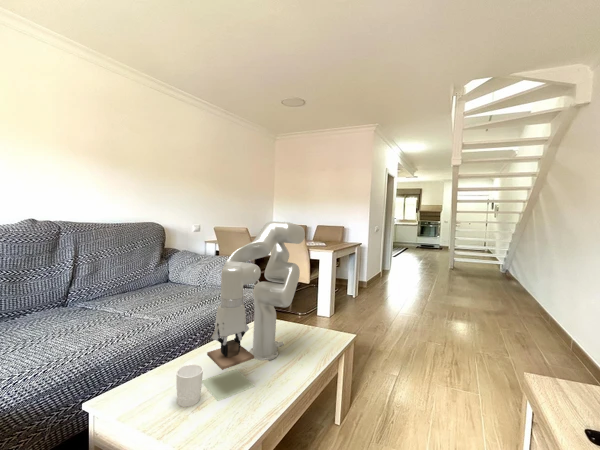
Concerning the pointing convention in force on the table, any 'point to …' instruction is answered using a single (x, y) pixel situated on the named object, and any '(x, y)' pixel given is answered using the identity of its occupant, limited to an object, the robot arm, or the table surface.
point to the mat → (227, 384)
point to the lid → (230, 355)
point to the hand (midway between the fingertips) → (230, 352)
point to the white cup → (189, 384)
